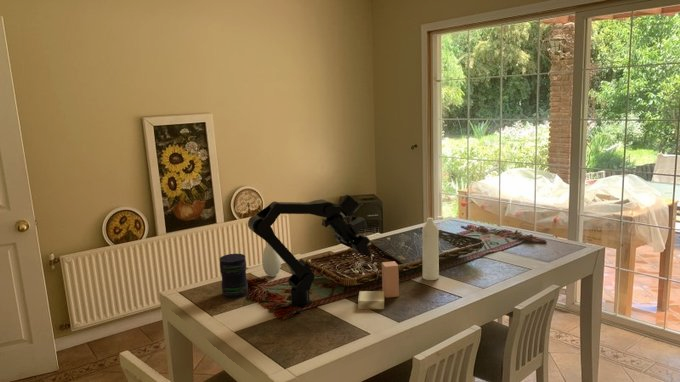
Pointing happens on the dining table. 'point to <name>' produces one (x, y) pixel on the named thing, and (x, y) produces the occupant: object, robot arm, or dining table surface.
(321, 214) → the robot arm
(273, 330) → the dining table surface
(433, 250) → the water bottle
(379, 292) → the birch plinth
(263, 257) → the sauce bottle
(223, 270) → the storage jar
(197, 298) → the dining table surface
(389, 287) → the terracotta post
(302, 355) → the dining table surface
